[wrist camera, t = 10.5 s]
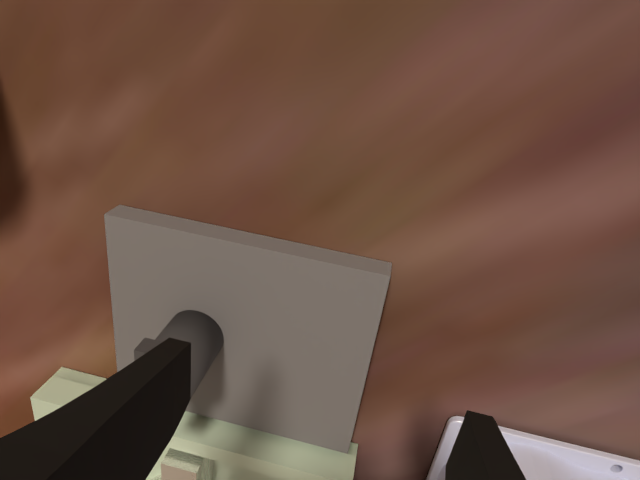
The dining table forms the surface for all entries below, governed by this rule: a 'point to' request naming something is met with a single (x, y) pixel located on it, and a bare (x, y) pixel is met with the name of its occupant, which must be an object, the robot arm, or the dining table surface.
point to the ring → (185, 467)
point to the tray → (219, 441)
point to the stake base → (249, 320)
